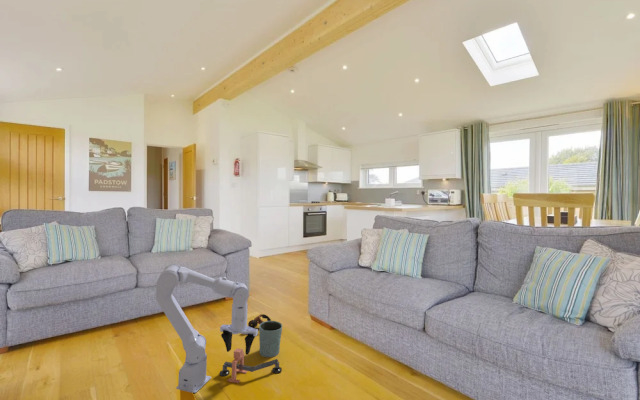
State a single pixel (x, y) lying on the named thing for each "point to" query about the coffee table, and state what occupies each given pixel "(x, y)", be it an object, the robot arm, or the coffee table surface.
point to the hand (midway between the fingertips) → (238, 351)
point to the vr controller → (258, 320)
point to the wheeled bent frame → (250, 368)
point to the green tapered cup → (270, 338)
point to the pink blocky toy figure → (238, 356)
